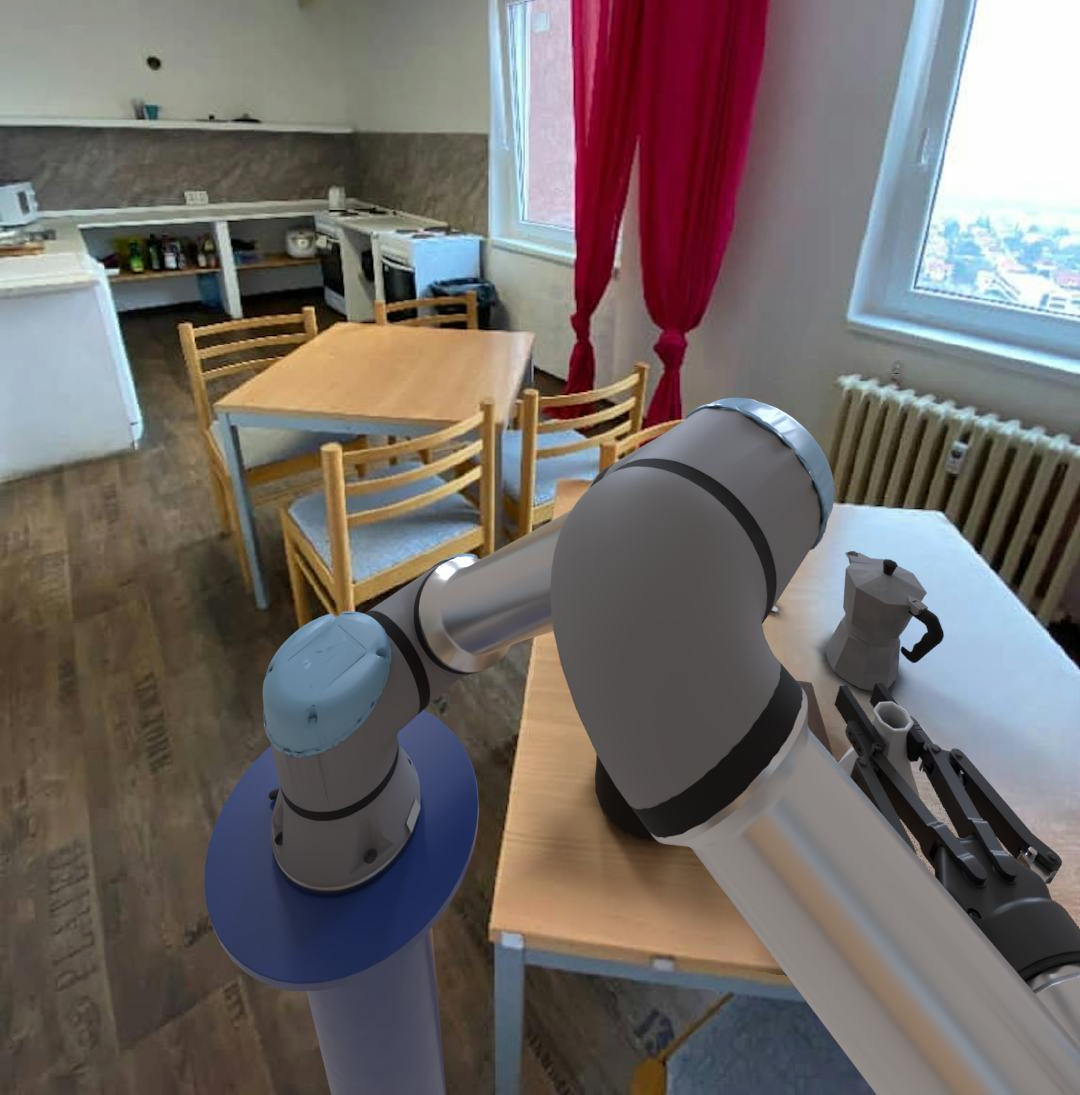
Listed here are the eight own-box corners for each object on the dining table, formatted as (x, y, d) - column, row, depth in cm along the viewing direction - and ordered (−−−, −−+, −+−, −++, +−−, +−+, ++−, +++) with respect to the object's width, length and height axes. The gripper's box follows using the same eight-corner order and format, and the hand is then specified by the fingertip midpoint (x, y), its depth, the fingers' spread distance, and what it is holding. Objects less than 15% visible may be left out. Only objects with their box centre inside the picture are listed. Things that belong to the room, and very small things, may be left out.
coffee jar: (689, 759, 72) (708, 646, 65) (691, 858, 62) (714, 737, 55) (599, 741, 74) (609, 628, 67) (588, 833, 64) (598, 713, 57)
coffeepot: (800, 636, 89) (824, 536, 82) (851, 623, 92) (879, 525, 85) (883, 728, 76) (920, 619, 69) (940, 710, 78) (982, 602, 72)
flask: (820, 765, 63) (833, 697, 59) (873, 740, 65) (890, 673, 61) (877, 835, 57) (896, 765, 53) (934, 806, 59) (957, 735, 55)
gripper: (932, 1035, 42) (777, 724, 63) (1141, 1006, 44) (921, 713, 65) (964, 977, 39) (790, 672, 60) (1187, 948, 41) (940, 661, 62)
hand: (858, 693), depth 63 cm, fingers closed on flask, 3 cm apart
